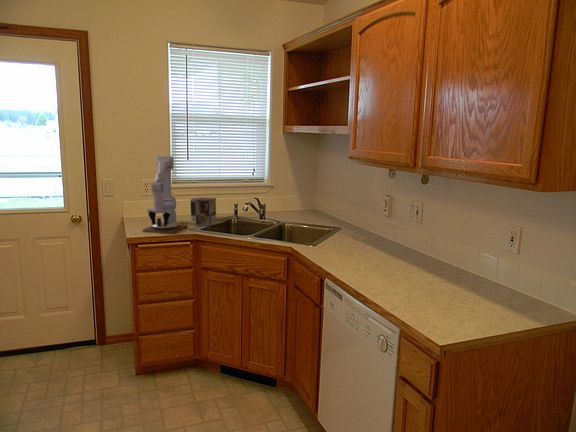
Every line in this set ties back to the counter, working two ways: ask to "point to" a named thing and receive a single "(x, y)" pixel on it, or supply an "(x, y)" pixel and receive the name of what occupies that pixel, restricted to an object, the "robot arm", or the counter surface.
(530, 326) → the counter surface
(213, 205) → the dark piece
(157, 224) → the handwheel
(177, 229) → the wheel base
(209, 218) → the coffee box
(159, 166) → the robot arm
